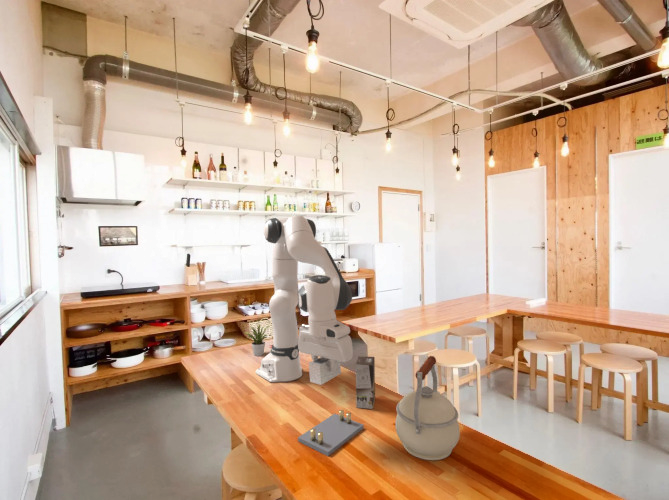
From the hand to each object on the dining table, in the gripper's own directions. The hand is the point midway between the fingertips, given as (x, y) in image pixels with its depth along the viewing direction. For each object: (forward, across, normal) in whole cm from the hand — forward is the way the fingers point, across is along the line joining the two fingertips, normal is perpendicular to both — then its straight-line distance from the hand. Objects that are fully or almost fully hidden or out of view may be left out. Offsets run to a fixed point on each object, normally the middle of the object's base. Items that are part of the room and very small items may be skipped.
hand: (325, 370), depth 111 cm
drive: (+2, 0, 0) cm, 2 cm away
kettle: (+22, +28, +13) cm, 37 cm away
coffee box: (+21, -1, +23) cm, 31 cm away
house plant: (+18, -77, +35) cm, 87 cm away
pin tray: (+20, +2, -1) cm, 20 cm away
